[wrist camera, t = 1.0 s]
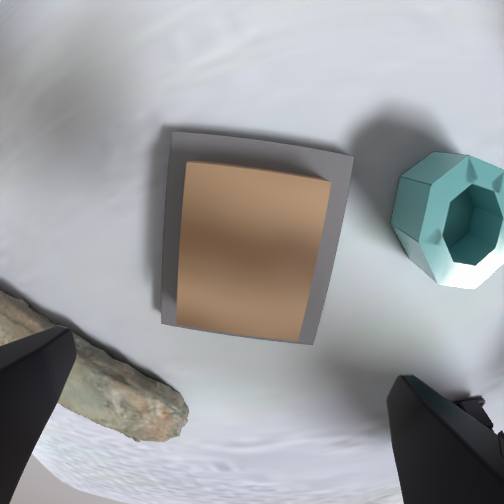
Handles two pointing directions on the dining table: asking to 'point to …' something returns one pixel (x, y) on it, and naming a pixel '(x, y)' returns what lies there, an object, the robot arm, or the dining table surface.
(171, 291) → the mat
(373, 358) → the dining table surface
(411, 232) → the bowl
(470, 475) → the robot arm
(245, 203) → the lid
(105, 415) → the long grey stone
